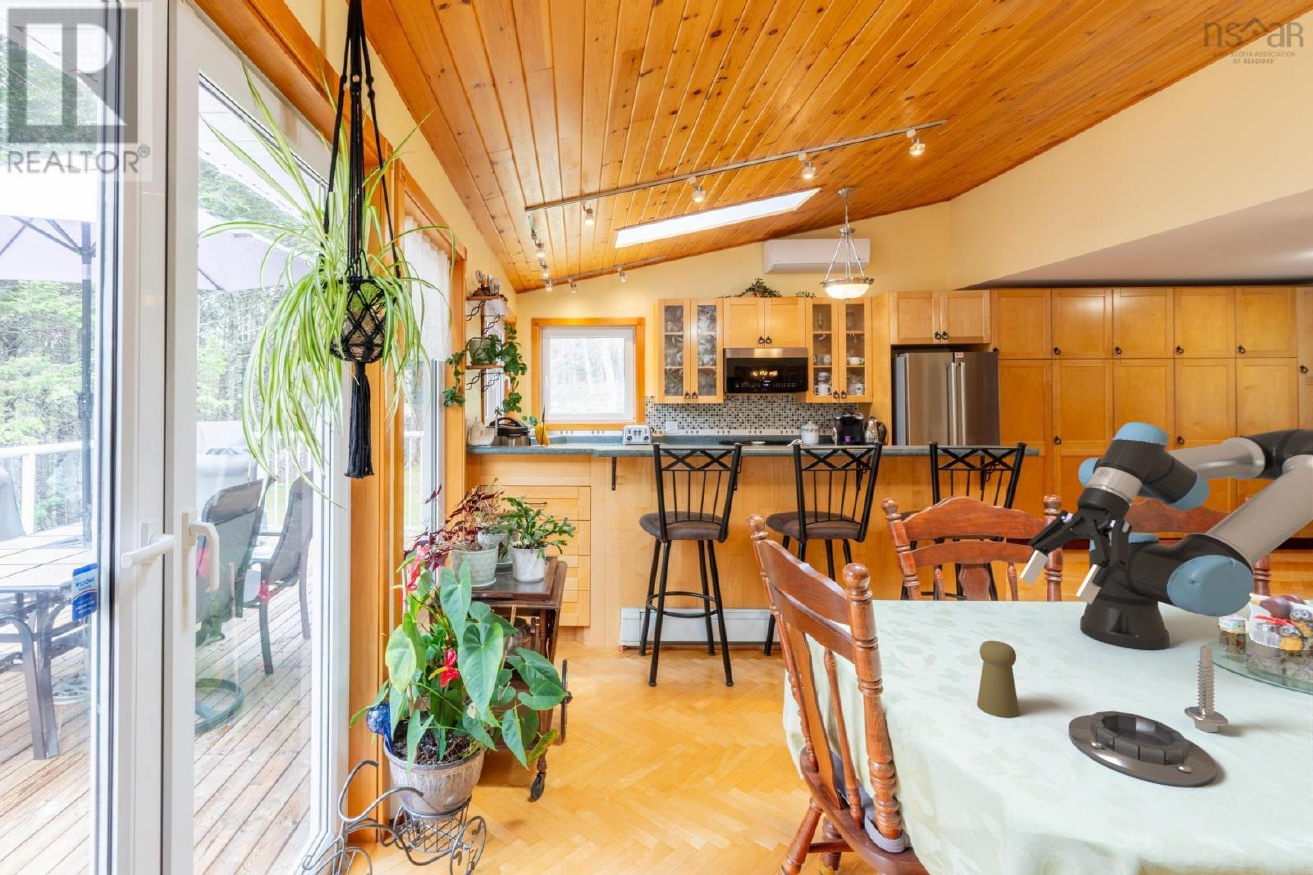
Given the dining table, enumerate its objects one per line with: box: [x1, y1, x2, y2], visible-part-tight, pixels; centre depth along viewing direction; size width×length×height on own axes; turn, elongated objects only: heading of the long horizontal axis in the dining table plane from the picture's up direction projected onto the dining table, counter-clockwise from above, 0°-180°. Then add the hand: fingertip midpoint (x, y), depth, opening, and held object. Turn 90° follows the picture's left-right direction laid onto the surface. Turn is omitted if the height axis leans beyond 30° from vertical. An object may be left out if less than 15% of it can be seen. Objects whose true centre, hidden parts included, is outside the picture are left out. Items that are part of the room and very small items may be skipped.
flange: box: [1068, 710, 1216, 788], centre depth 81 cm, size 16×16×3 cm
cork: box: [976, 640, 1020, 719], centre depth 94 cm, size 6×6×11 cm
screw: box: [1183, 645, 1229, 733], centre depth 87 cm, size 13×5×5 cm
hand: (1052, 590), depth 107 cm, fingers open, 13 cm apart
